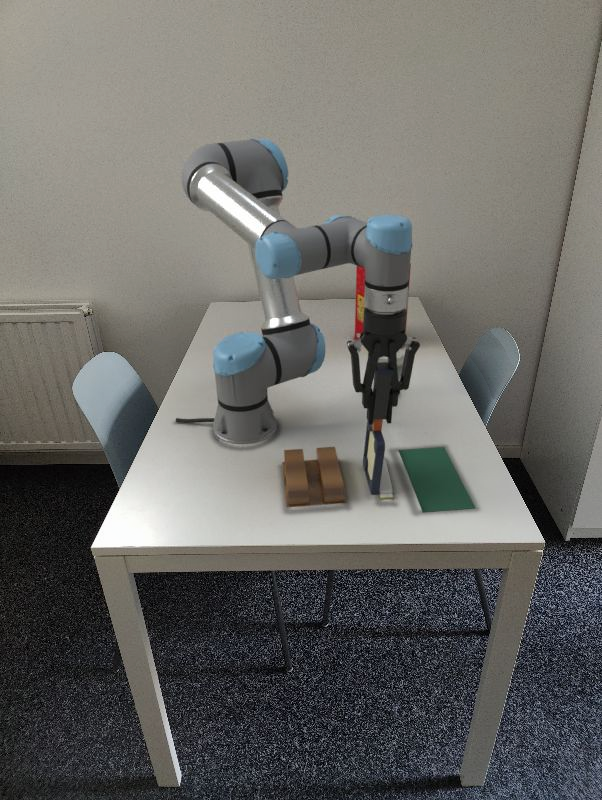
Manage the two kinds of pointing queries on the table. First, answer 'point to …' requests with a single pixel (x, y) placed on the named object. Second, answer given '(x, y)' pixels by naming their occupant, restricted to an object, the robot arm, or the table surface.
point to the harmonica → (385, 484)
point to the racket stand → (312, 478)
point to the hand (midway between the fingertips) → (378, 420)
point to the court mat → (435, 480)
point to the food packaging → (360, 301)
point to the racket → (377, 427)
